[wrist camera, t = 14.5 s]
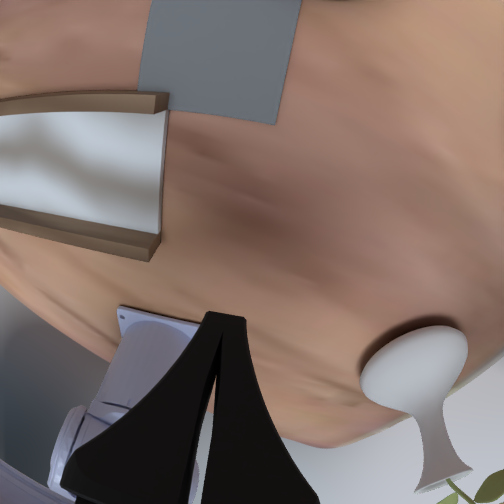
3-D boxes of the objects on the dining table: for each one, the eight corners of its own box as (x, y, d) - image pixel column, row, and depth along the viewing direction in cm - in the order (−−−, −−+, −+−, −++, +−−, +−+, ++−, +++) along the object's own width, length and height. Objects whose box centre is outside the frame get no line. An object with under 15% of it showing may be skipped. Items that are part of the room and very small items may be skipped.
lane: (160, 242, 20) (148, 262, 18) (-45, 200, 19) (-59, 211, 17) (171, 92, 15) (155, 95, 13) (-55, 111, 14) (-72, 118, 12)
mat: (275, 124, 15) (275, 125, 15) (137, 106, 15) (135, 107, 15) (302, -7, 11) (303, -8, 11) (158, -18, 11) (156, -19, 10)
